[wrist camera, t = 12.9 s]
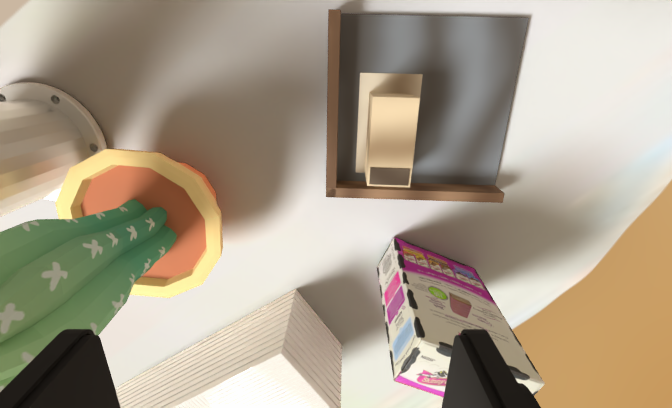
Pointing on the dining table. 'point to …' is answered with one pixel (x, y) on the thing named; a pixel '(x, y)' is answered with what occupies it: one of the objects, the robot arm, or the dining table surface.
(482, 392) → the robot arm
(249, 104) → the dining table surface
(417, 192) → the corner arena
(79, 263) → the potted cactus
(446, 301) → the candy bar box
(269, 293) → the dining table surface
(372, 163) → the maple block
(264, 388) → the stack of papers
